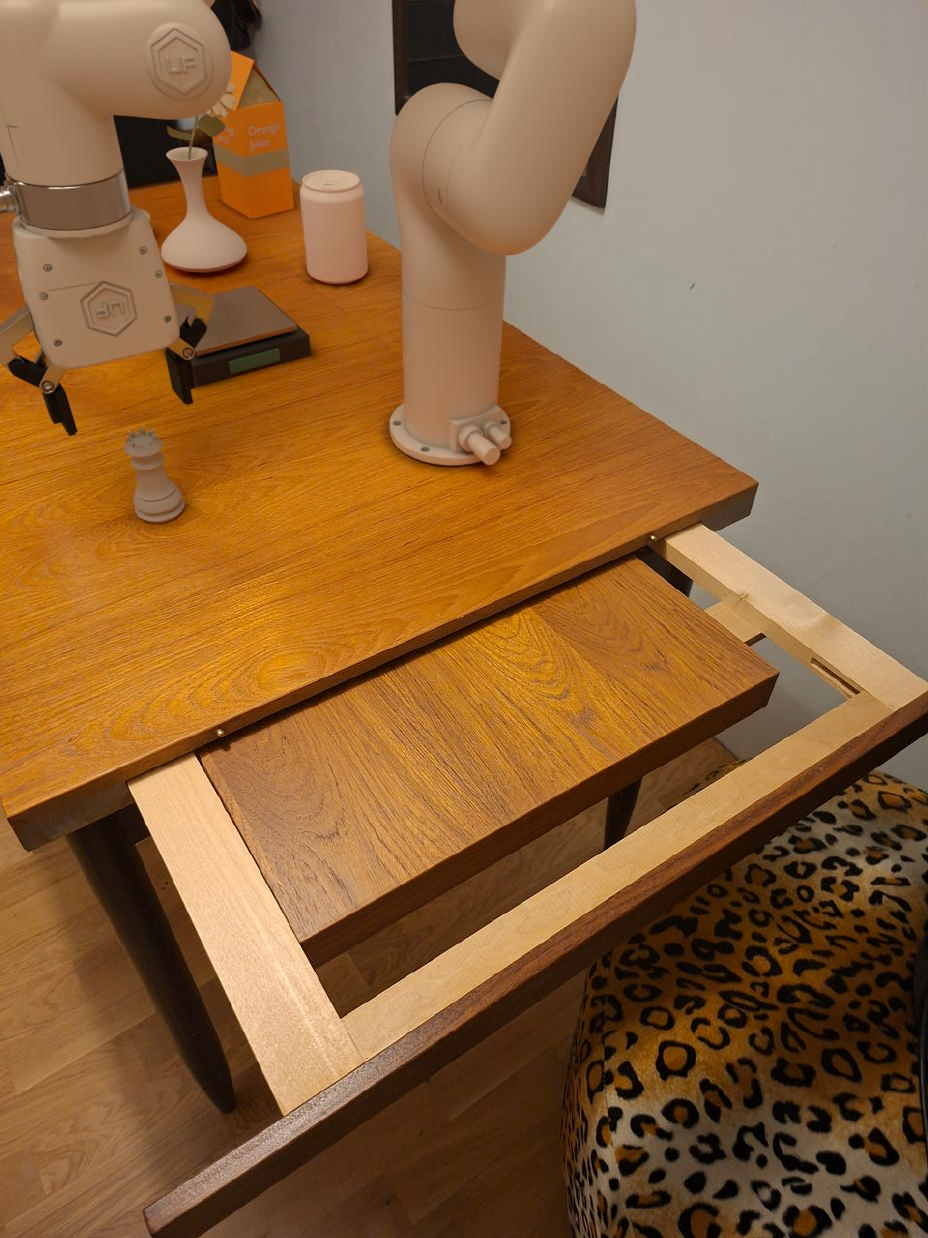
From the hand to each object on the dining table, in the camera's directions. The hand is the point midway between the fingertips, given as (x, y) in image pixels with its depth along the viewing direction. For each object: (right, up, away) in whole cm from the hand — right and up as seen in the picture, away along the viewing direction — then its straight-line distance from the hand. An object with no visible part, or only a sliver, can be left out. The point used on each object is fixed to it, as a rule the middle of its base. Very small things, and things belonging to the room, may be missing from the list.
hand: (127, 411), depth 73 cm
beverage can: (+11, +29, +45) cm, 54 cm away
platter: (+1, +17, +28) cm, 33 cm away
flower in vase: (-6, +31, +46) cm, 56 cm away
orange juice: (-4, +46, +61) cm, 77 cm away
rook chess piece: (0, -7, +8) cm, 11 cm away
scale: (+1, +15, +30) cm, 34 cm away
